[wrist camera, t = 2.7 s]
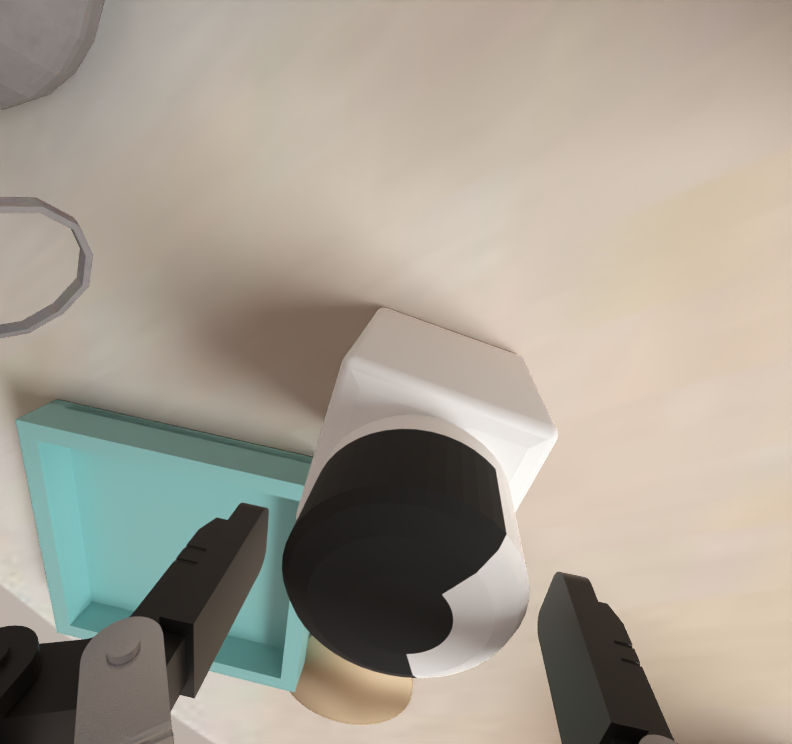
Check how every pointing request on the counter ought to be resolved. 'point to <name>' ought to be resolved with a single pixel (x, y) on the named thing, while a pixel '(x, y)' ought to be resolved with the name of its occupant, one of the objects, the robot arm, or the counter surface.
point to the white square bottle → (418, 502)
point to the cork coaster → (348, 689)
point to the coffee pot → (35, 77)
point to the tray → (157, 523)
